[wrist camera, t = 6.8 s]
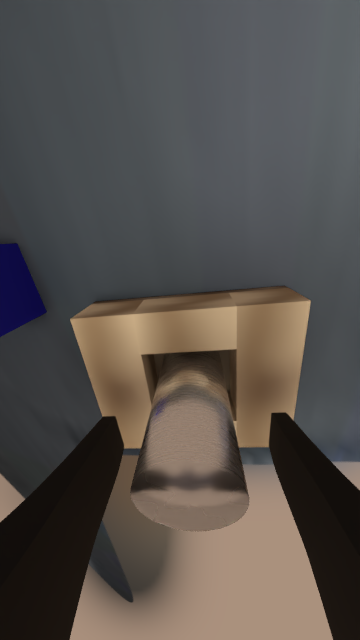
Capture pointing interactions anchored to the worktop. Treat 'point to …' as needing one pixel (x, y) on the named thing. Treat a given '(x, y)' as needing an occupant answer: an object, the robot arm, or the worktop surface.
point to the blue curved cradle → (16, 291)
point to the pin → (190, 449)
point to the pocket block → (197, 335)
